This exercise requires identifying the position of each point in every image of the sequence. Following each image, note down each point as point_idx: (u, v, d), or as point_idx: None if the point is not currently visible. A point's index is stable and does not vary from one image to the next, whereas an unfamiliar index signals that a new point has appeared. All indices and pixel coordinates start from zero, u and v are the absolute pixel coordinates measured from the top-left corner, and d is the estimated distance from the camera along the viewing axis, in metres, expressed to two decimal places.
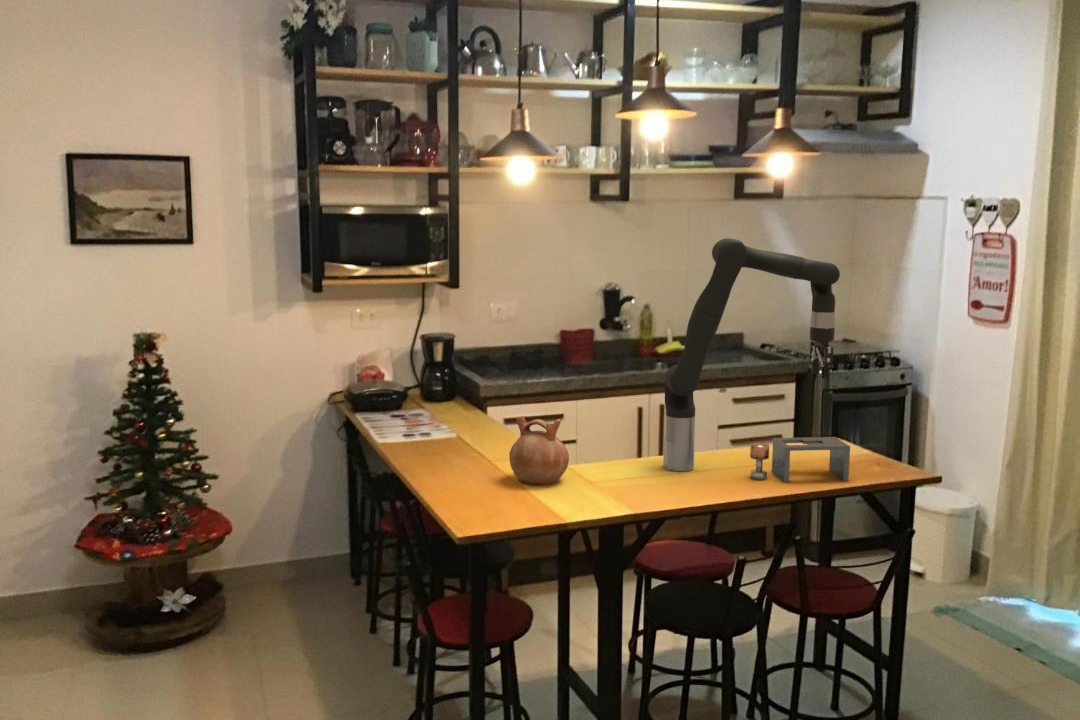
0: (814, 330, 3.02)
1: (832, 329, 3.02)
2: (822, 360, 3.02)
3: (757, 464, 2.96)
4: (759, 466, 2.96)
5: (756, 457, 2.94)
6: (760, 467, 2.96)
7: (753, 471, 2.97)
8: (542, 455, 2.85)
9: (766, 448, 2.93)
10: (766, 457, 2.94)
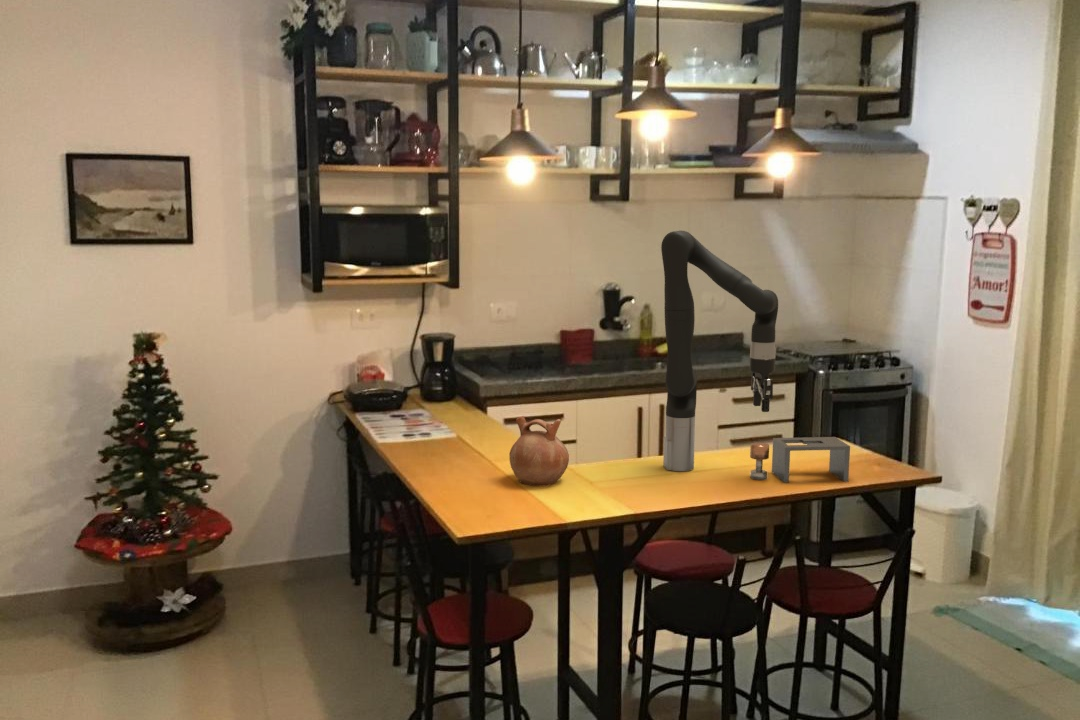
0: (754, 361, 2.89)
1: (772, 360, 2.88)
2: (762, 392, 2.88)
3: (757, 464, 2.96)
4: (759, 466, 2.96)
5: (756, 457, 2.94)
6: (760, 467, 2.96)
7: (753, 471, 2.97)
8: (542, 455, 2.85)
9: (766, 448, 2.93)
10: (766, 457, 2.94)
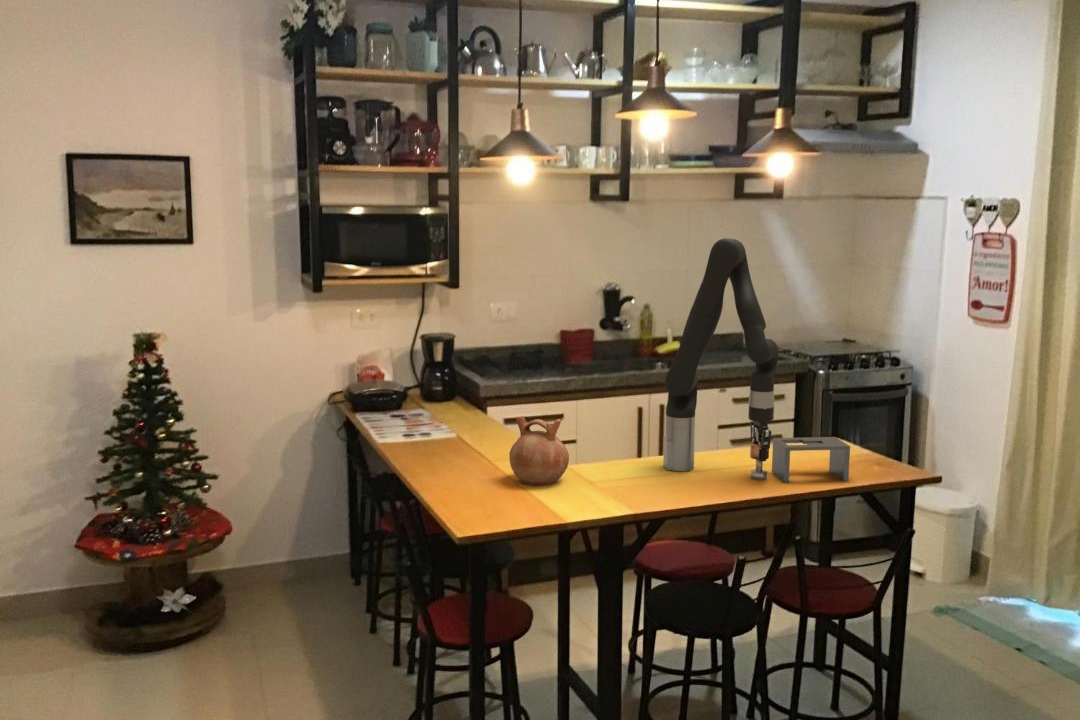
0: (752, 410, 2.92)
1: (771, 409, 2.91)
2: (760, 442, 2.92)
3: (757, 464, 2.96)
4: (759, 466, 2.96)
5: (756, 457, 2.94)
6: (760, 467, 2.96)
7: (753, 471, 2.97)
8: (542, 455, 2.85)
9: None
10: None
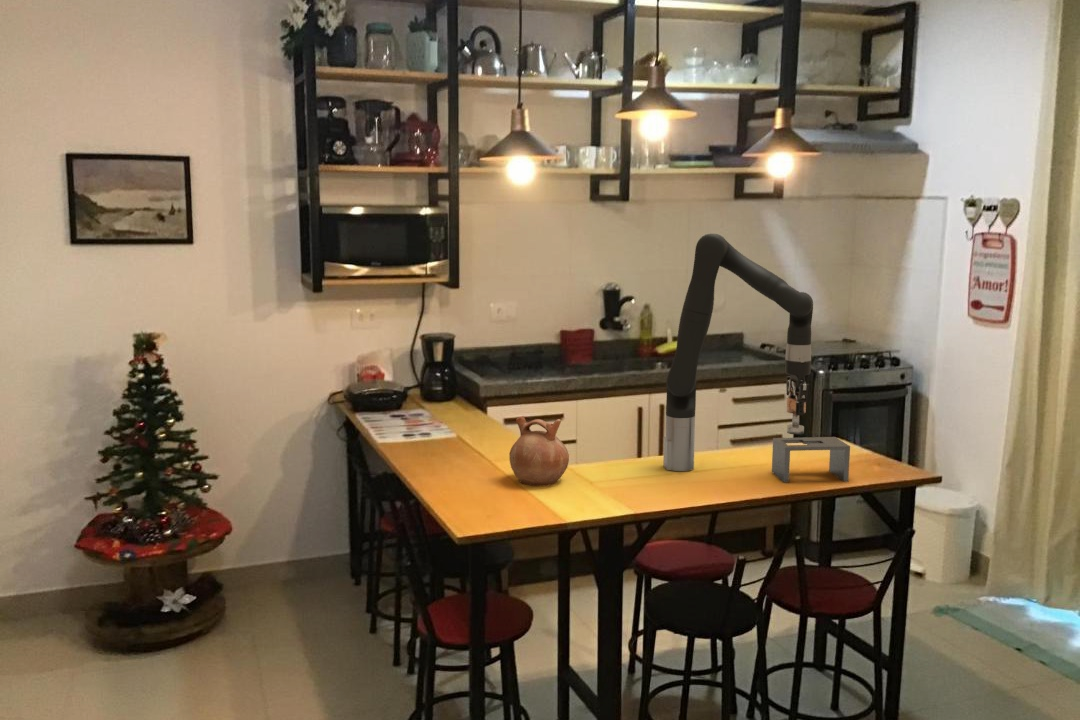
0: (789, 363, 2.90)
1: (808, 362, 2.89)
2: (797, 396, 2.90)
3: (794, 418, 2.94)
4: (796, 421, 2.94)
5: (793, 411, 2.92)
6: (797, 421, 2.94)
7: (790, 426, 2.95)
8: (542, 455, 2.85)
9: None
10: None
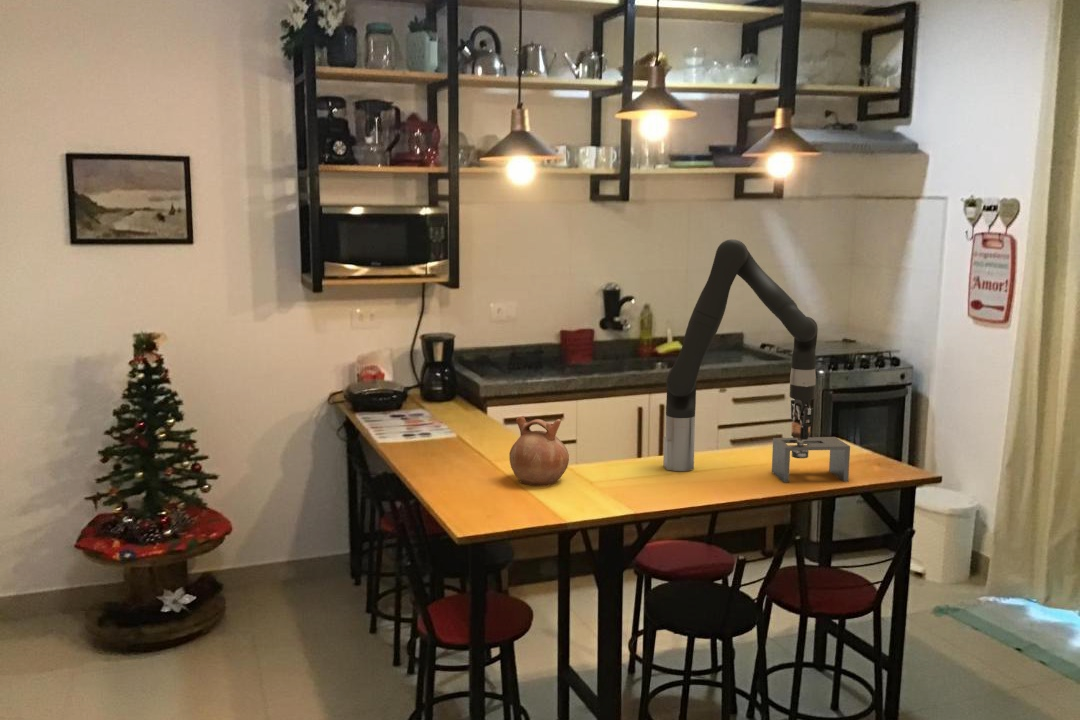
0: (794, 388, 2.91)
1: (812, 387, 2.90)
2: (801, 420, 2.91)
3: (798, 442, 2.96)
4: None
5: (798, 435, 2.93)
6: None
7: None
8: (542, 455, 2.85)
9: None
10: (808, 435, 2.94)
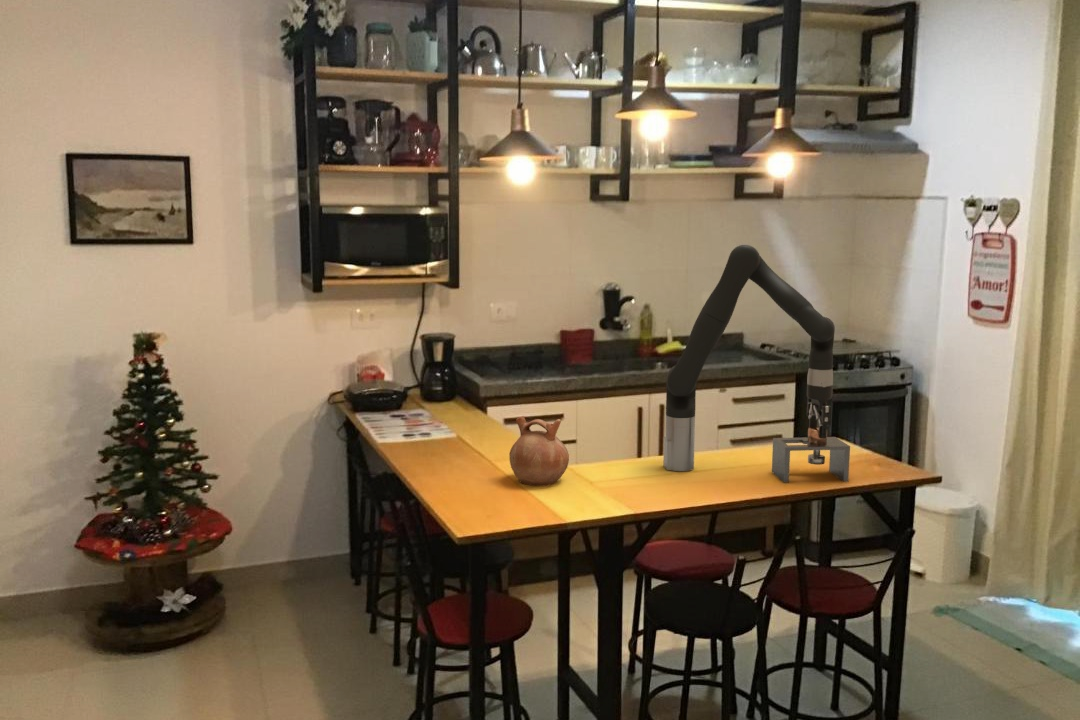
0: (811, 388, 2.92)
1: (830, 387, 2.91)
2: (820, 419, 2.91)
3: None
4: (817, 451, 2.96)
5: (814, 441, 2.94)
6: (818, 452, 2.96)
7: (811, 456, 2.97)
8: (542, 455, 2.85)
9: None
10: (824, 441, 2.94)
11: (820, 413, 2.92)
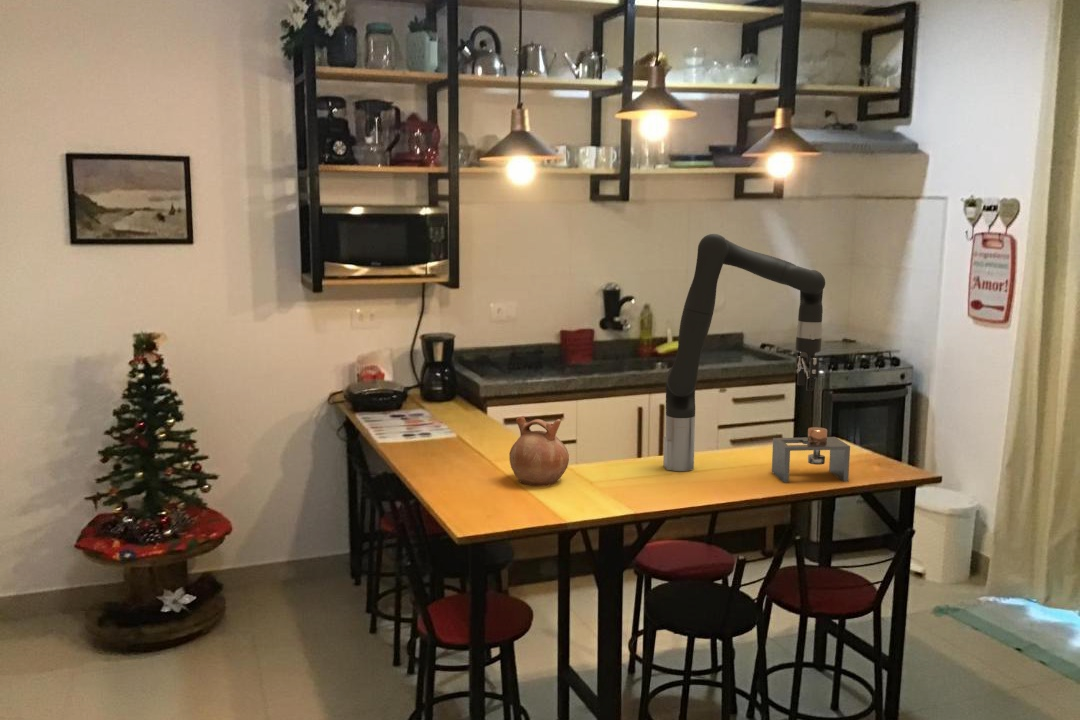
0: (800, 340, 2.92)
1: (819, 340, 2.91)
2: (807, 371, 2.92)
3: None
4: (817, 451, 2.96)
5: (814, 441, 2.94)
6: (818, 452, 2.96)
7: (811, 456, 2.97)
8: (542, 455, 2.85)
9: (824, 432, 2.94)
10: (824, 441, 2.94)
11: (808, 366, 2.93)
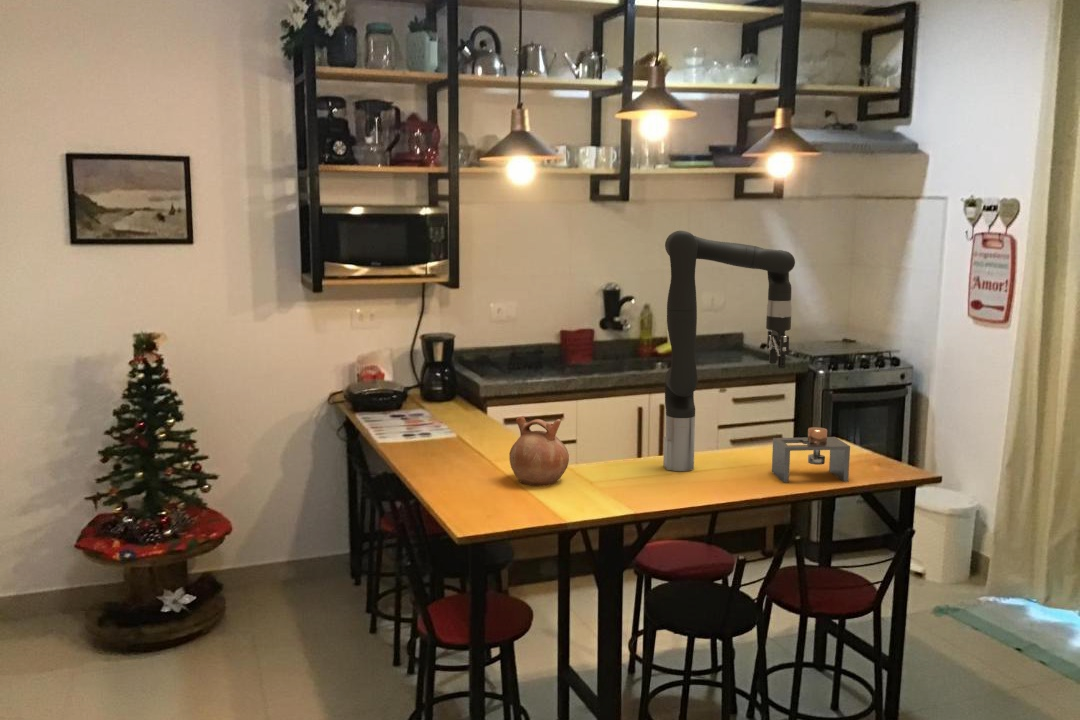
0: (770, 319, 2.99)
1: (788, 318, 2.98)
2: (778, 349, 2.98)
3: None
4: (817, 451, 2.96)
5: (814, 441, 2.94)
6: (818, 452, 2.96)
7: (811, 456, 2.97)
8: (542, 455, 2.85)
9: (824, 432, 2.94)
10: (824, 441, 2.94)
11: (779, 344, 2.99)
